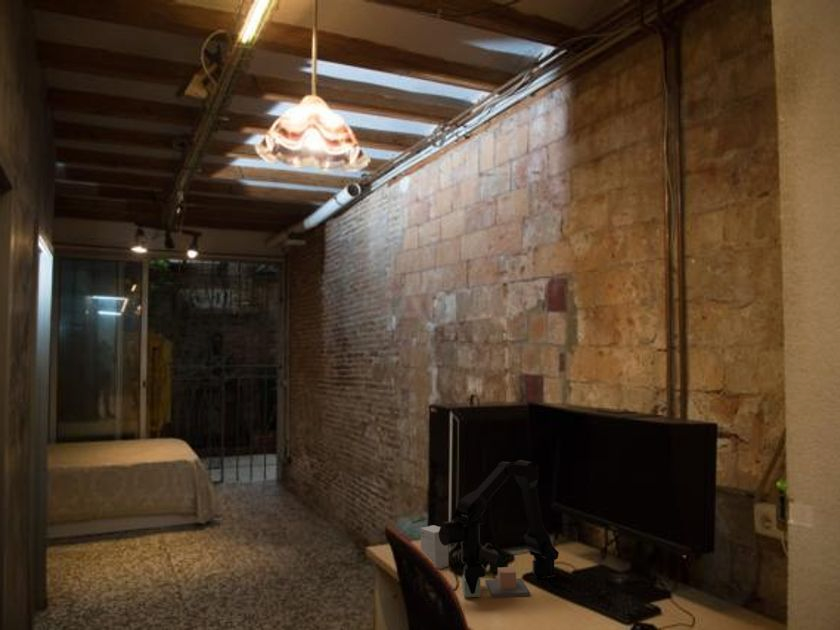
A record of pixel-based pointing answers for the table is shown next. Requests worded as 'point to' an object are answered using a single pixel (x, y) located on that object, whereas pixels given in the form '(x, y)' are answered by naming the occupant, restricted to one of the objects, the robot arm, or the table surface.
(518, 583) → the tower base
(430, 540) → the small box
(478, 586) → the sage brick
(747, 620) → the table surface
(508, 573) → the terracotta brick
